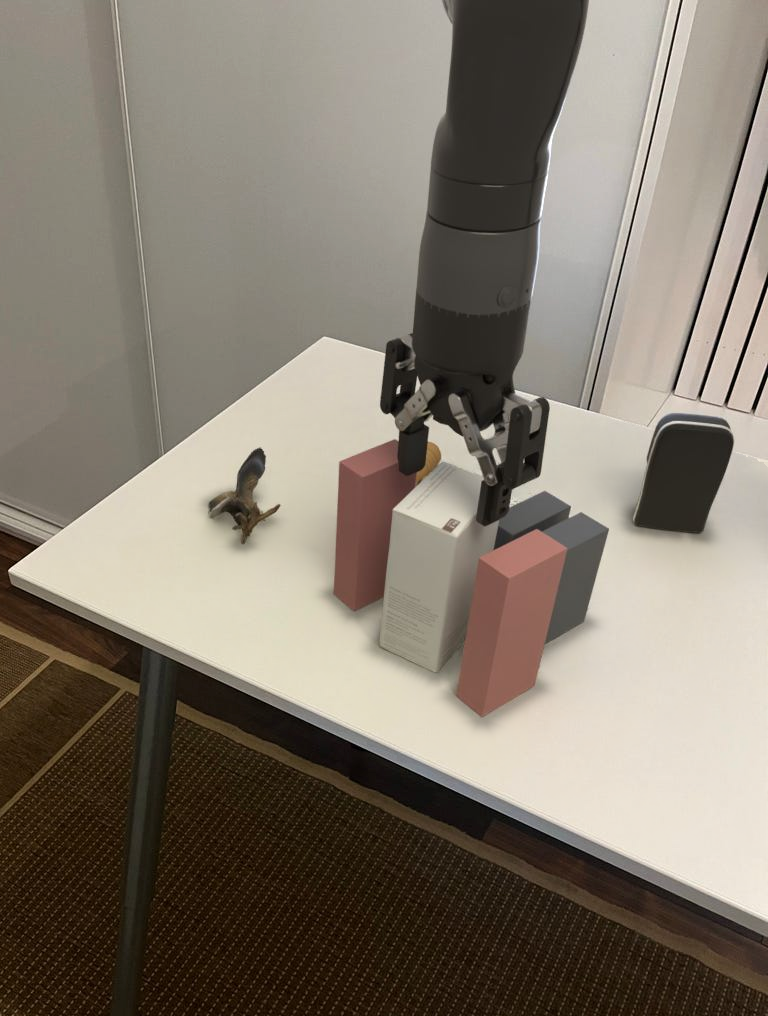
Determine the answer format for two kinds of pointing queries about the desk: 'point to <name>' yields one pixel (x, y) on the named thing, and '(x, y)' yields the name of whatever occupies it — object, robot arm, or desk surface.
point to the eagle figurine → (244, 496)
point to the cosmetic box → (433, 566)
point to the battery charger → (683, 471)
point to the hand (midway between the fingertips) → (448, 495)
